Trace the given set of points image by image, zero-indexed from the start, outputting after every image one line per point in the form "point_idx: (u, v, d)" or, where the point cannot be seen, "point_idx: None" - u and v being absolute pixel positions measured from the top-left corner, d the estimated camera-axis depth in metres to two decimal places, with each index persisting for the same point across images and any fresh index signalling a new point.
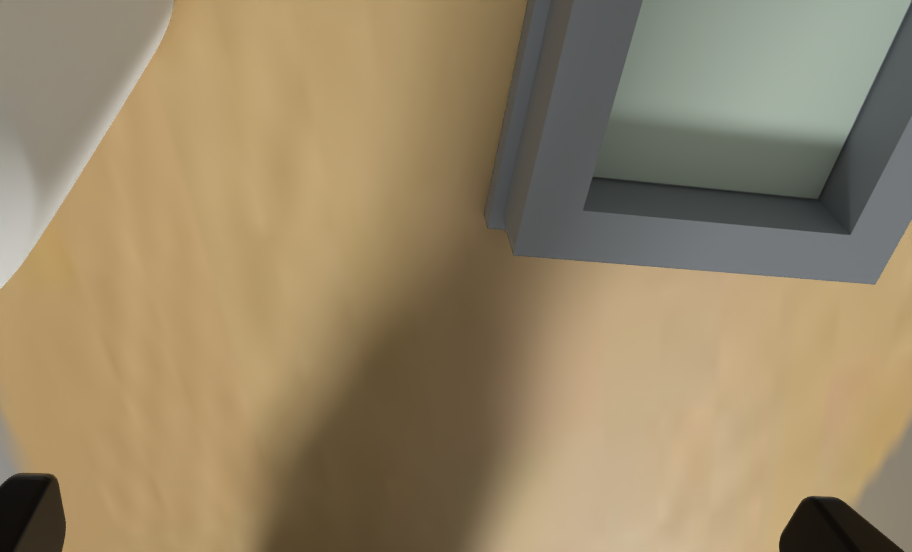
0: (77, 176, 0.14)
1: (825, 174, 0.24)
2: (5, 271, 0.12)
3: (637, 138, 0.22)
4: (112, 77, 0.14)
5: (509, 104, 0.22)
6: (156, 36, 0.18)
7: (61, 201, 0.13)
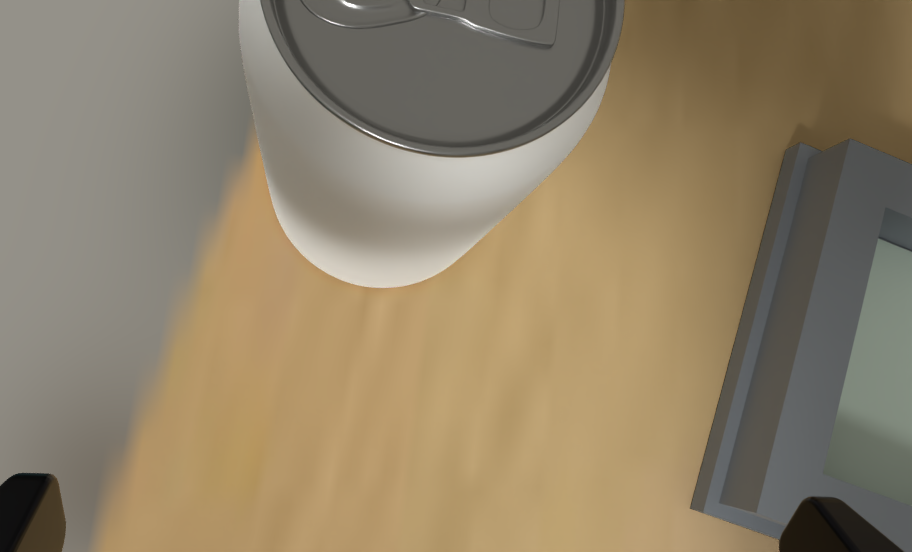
0: None
1: None
2: (556, 155, 0.13)
3: (842, 441, 0.24)
4: None
5: (727, 388, 0.24)
6: None
7: None
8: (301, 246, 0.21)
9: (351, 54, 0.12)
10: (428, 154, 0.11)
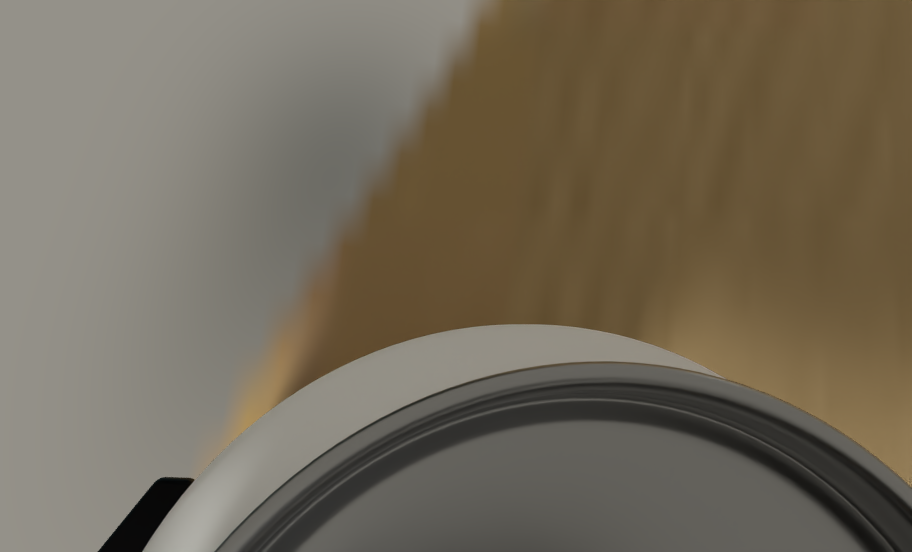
0: None
1: None
2: None
3: None
4: None
5: None
6: None
7: None
8: None
9: None
10: None
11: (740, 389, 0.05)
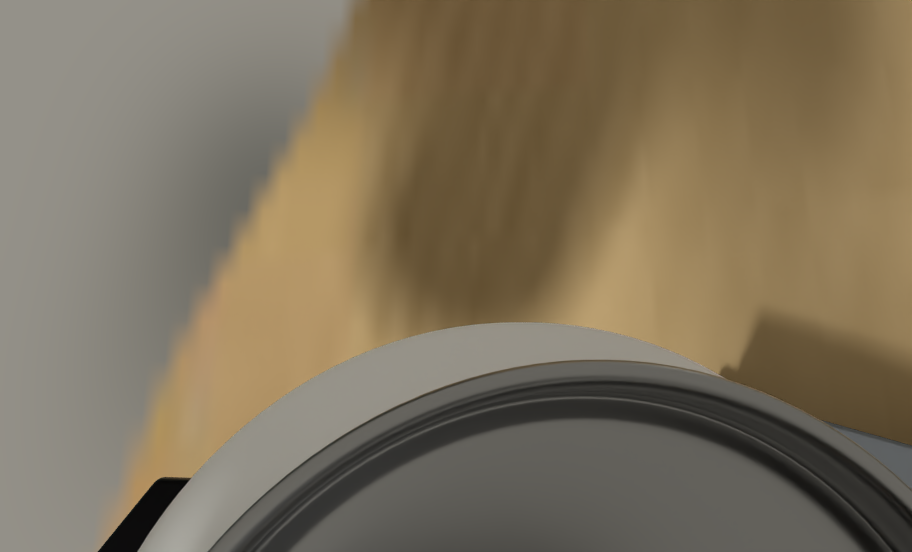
0: None
1: None
2: None
3: None
4: None
5: None
6: None
7: None
8: None
9: None
10: None
11: (736, 387, 0.05)
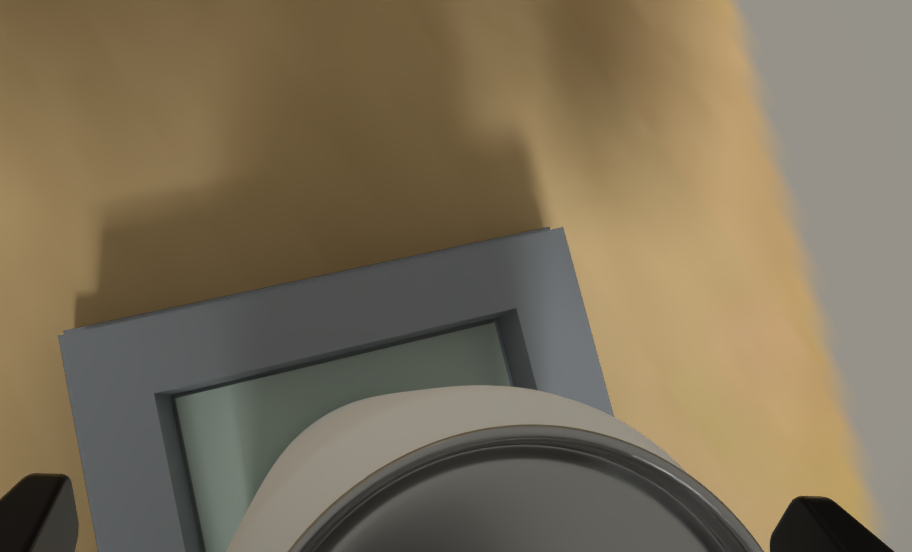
0: None
1: None
2: None
3: None
4: None
5: None
6: None
7: None
8: None
9: None
10: None
11: (601, 437, 0.07)
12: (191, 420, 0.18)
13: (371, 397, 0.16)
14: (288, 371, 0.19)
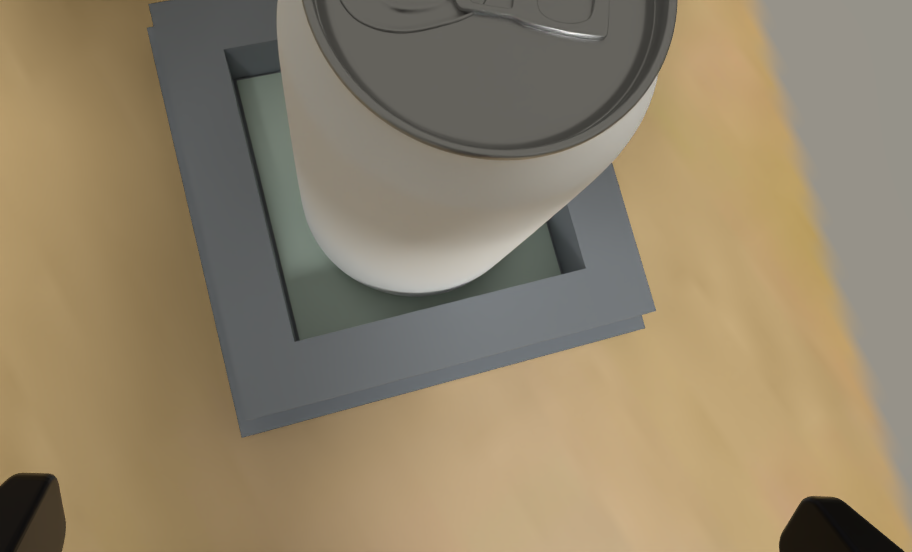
0: None
1: (550, 251, 0.23)
2: (612, 151, 0.13)
3: (347, 285, 0.23)
4: None
5: None
6: None
7: None
8: (338, 259, 0.21)
9: (399, 60, 0.11)
10: (487, 158, 0.11)
11: None
12: (249, 99, 0.23)
13: None
14: None
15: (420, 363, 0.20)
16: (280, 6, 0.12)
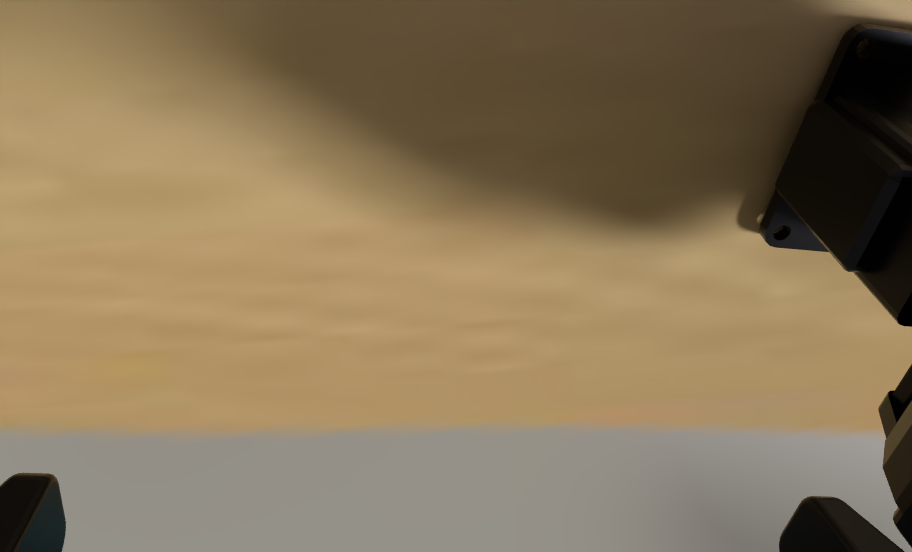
0: None
1: None
2: None
3: None
4: None
5: None
6: None
7: None
8: None
9: None
10: None
11: None
12: None
13: None
14: None
15: None
16: None
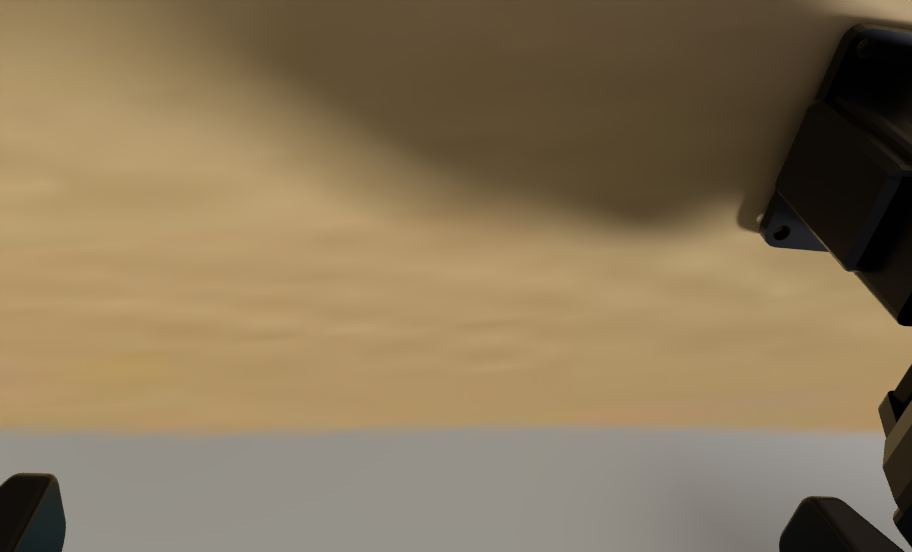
0: None
1: None
2: None
3: None
4: None
5: None
6: None
7: None
8: None
9: None
10: None
11: None
12: None
13: None
14: None
15: None
16: None
